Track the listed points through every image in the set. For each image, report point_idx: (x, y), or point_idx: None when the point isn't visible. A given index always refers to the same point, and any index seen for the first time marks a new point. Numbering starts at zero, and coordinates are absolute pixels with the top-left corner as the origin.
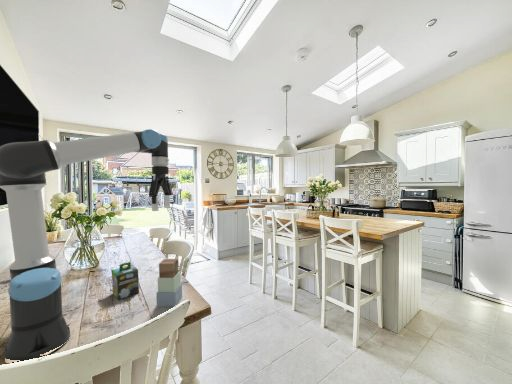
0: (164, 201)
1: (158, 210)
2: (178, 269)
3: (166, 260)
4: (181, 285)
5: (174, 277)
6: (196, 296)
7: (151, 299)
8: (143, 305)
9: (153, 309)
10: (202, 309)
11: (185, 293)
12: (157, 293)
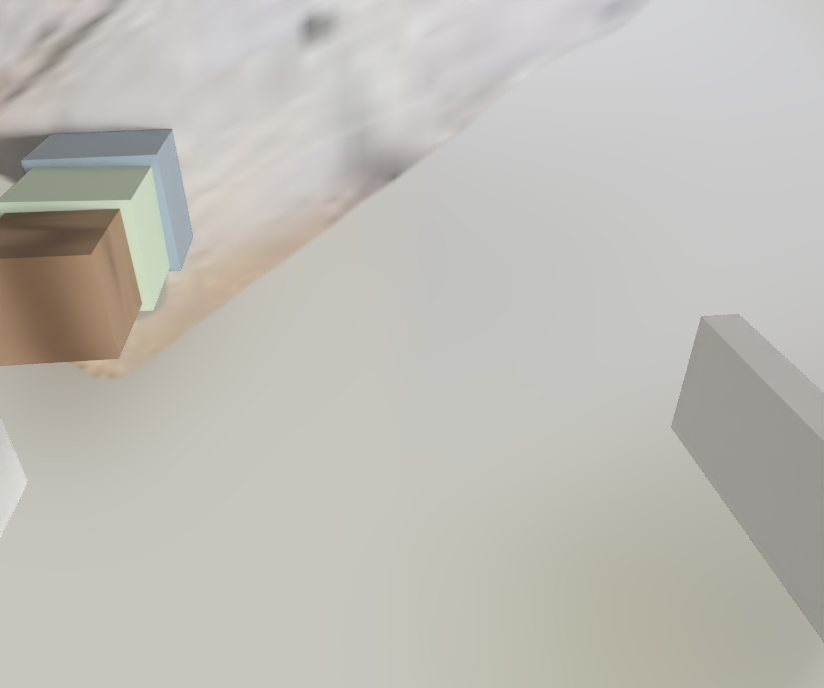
0: (806, 443)
1: (22, 487)
2: (135, 313)
3: (50, 287)
4: (174, 268)
5: None
6: (210, 309)
7: (125, 52)
8: (40, 36)
9: (16, 129)
10: (89, 373)
11: (237, 239)
12: (24, 166)
